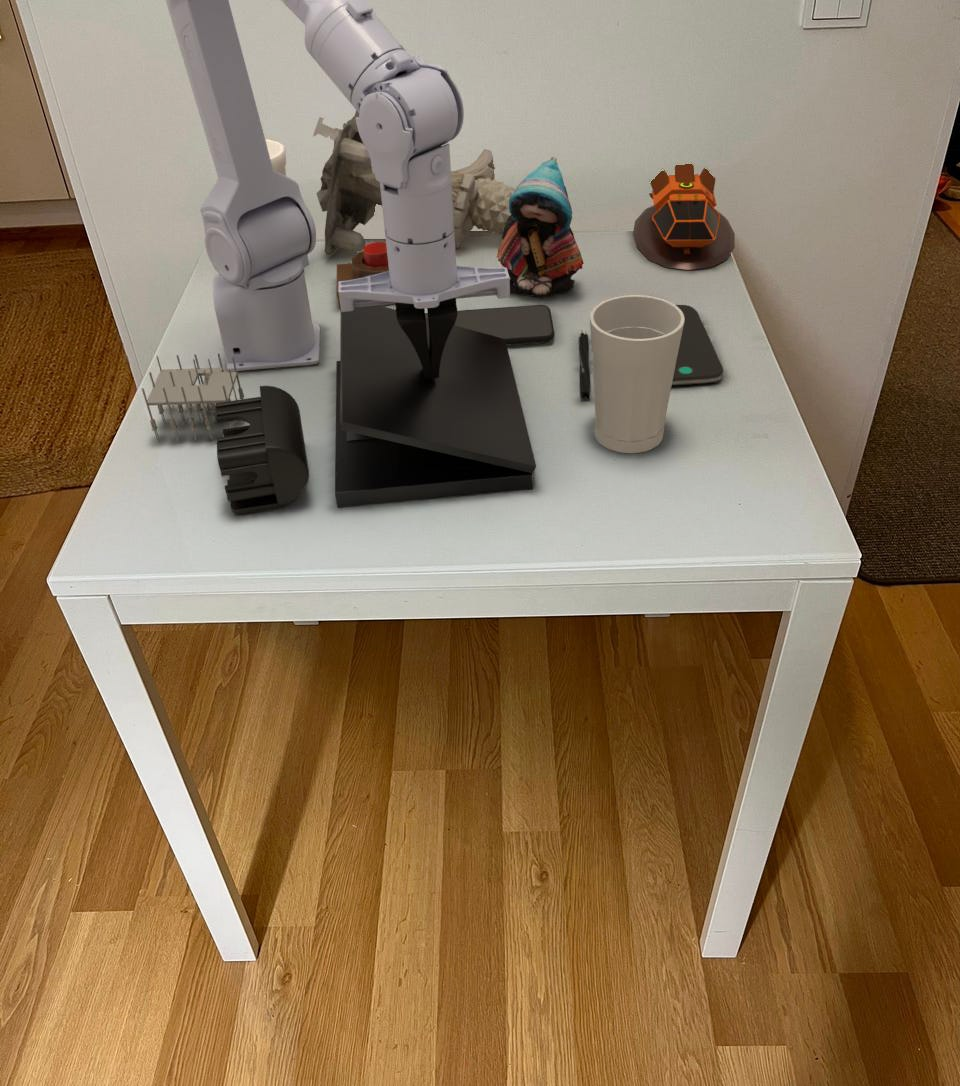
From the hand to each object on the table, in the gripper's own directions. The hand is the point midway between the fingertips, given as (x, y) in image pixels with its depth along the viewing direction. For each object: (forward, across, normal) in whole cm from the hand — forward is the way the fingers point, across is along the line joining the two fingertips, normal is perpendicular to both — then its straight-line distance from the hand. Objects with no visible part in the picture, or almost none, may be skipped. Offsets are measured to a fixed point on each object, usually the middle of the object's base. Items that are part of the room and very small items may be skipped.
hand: (431, 372), depth 91 cm
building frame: (+6, -22, +4) cm, 23 cm away
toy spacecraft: (+6, +34, +37) cm, 50 cm away
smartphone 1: (+6, +6, +17) cm, 19 cm away
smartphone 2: (+6, +26, +10) cm, 28 cm away
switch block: (+6, -4, +28) cm, 29 cm away
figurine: (+6, +14, +25) cm, 29 cm away
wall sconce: (+8, 0, +36) cm, 37 cm away
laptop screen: (+1, 0, 0) cm, 1 cm away
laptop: (+6, -1, 0) cm, 6 cm away
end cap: (+6, -15, -6) cm, 17 cm away
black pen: (+6, +16, +8) cm, 19 cm away
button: (+2, -4, +28) cm, 29 cm away
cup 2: (+6, +18, -4) cm, 19 cm away
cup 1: (+6, -17, +36) cm, 40 cm away
